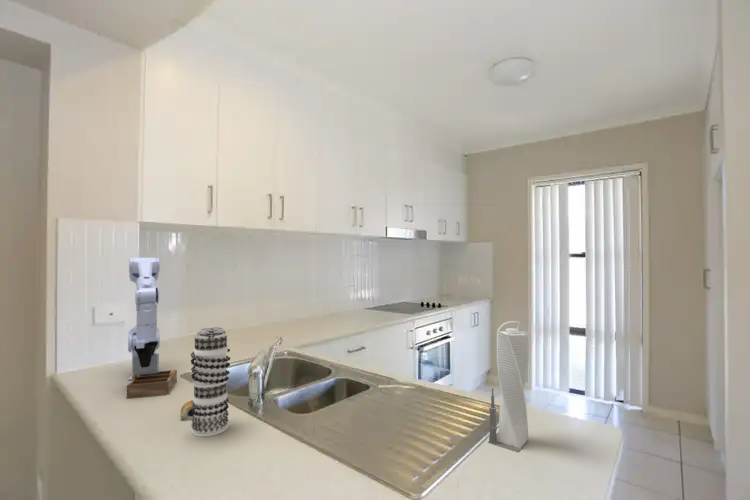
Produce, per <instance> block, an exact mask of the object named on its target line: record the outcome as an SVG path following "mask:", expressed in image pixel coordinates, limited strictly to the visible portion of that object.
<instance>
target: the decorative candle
mask: <svg viewBox="0 0 750 500" xmlns="http://www.w3.org/2000/svg"><path fill="white" fill-rule="evenodd" d="M225 330H226V329H224V328H221V327H218V326H217V327H216V326H215V327H204V328H201V329H200V330H198V331H197V333H196V334H195V335H194V336H193V338H194V348H193V351H192V352H191V353H190V356H191V359H190V364H191V365H193V366H192V367H191V368H190V370H191V379H192V380H193V381H191V382H192V386H193V396H192V397H193V398H192V400H193V403H192V407H193V408H194V409H192V414H194V415H193V416H192V418H191V421H192V422H191V428H192V429H191V432H192V433H191V434H192V435H193V436H196V437H202V438H203V437H211V436H216V435H219V434H221V433H223V432H225V431H227V429H228V427H229V423H228V422H229V417H228V416H229V410H228V409H229V404H228V403H229V397H228V391H227V388H228V387H227V386H228V385H227V383H228V382H229V379H230V377H228V375H229V374H230V371H229V370H228V369H227V368H229V367H230V366H231V363H230V362H229V361H230V360H231V357H230V356H228V355H227V354H228V353H229V352H230V351H231V350H230V348H229V346H228V344H227V343H228V338H227V337H228V336H229V333H228V332H226V331H225Z"/></svg>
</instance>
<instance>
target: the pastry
mask: <svg viewBox="0 0 750 500" xmlns="http://www.w3.org/2000/svg"><path fill="white" fill-rule="evenodd" d="M192 403H193V399H192V400H190V401H187V402H185V403H184V404H183V405H182V407H181V408H180V418H181V420H182V421H188V420H190V421H192V419H191V418H192V416H193V415H194V414H192V409H194V408H193V407H192Z"/></svg>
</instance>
